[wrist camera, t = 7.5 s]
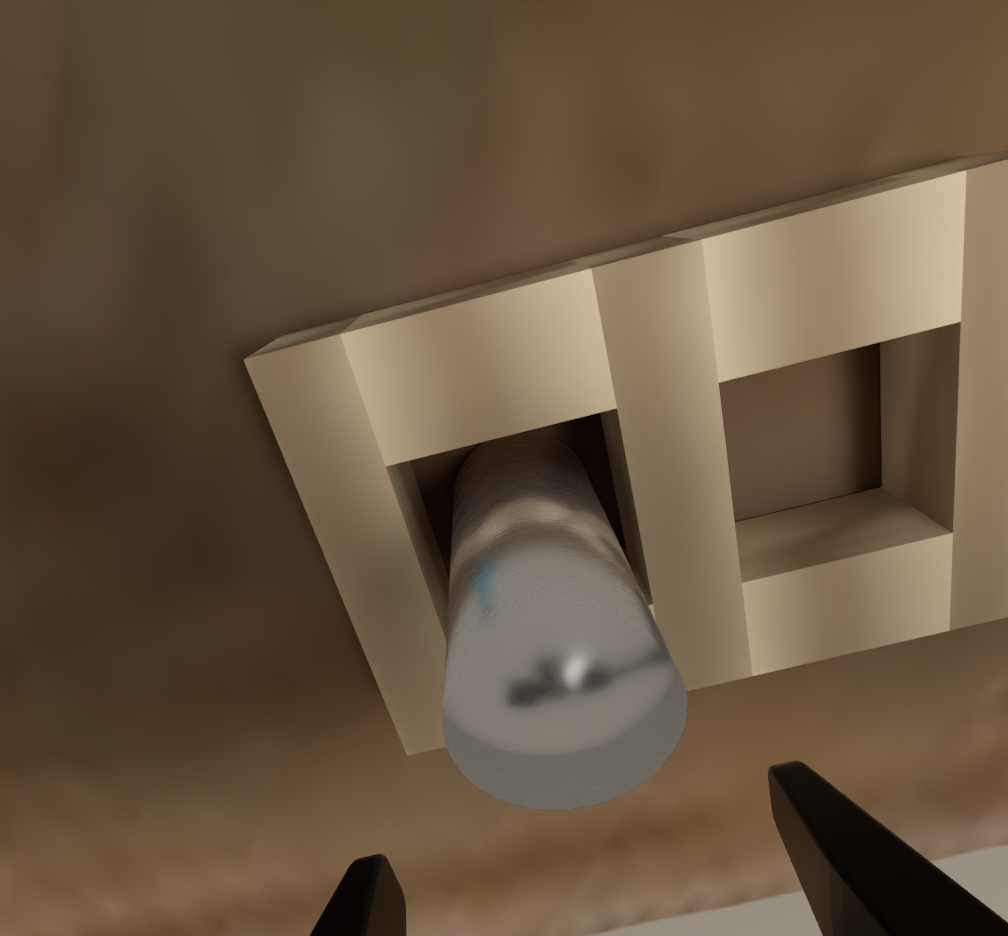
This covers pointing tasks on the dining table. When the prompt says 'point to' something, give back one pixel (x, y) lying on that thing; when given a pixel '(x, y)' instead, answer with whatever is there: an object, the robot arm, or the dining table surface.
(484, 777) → the grey cylinder
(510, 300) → the frame
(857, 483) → the dining table surface
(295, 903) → the dining table surface
